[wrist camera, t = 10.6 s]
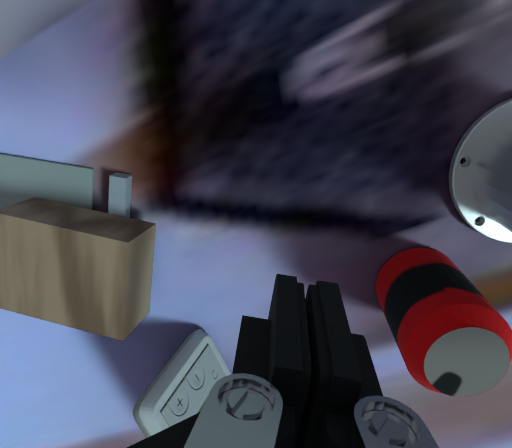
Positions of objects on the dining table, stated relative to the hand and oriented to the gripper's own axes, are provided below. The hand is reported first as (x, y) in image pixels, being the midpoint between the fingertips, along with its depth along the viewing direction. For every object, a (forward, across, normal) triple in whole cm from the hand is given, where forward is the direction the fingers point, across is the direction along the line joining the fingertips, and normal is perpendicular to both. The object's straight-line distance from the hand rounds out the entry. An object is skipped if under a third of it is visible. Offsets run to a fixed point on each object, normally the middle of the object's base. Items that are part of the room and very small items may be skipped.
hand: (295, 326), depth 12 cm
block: (+22, +11, +12) cm, 28 cm away
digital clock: (+27, +3, +26) cm, 38 cm away
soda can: (+27, -14, +10) cm, 32 cm away
